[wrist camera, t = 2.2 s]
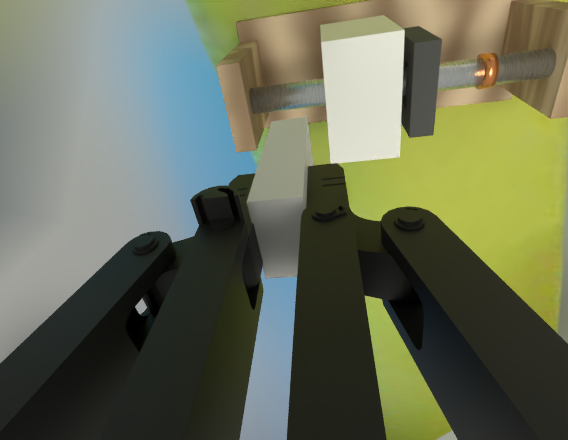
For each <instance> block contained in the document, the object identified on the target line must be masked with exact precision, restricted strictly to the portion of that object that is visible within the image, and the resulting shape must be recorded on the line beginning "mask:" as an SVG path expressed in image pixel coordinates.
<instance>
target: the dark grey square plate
mask: <svg viewBox="0 0 568 440" xmlns="http://www.w3.org/2000/svg"><path fill="white" fill-rule="evenodd" d="M403 29H404V30H405V36H404V61H403V67H408V78H407V95H405V96H402V112H401V123H402V125H403V127H404V129H405V130H406V132H407V134H408V136H409V138H411V137H420V136H430V135H433V133H434V122H435V111H436V100H437V90H438V79H439V68H440V57H441V47H442V39H441V38H439V37H437V36H436V35H434V34H432V33H430V32H429V31H427V30H425V29H423V28H422V27H420V26H415V27H408V28H403Z"/></svg>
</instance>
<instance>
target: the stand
mask: <svg viewBox="0 0 568 440" xmlns="http://www.w3.org/2000/svg"><path fill="white" fill-rule="evenodd" d="M381 15H384V16H386V17H387V18H389V19H390V20H391V21H393V22H394V23H396V24H397V25H399V26H400V27H401V28H408V27H415V26H420V27H422V28H423V29H425V30H427V31H429V32H430V33H432V34H434V35H436V36H437V37H439V38H441V39H442V47H441V57H440V63H441V62H448V61H456V60H463V59H471V58H477V56H478V55H479V54H485V53H492V52H494V53H496V55H500V54H508V53H515V52H523V51H530V50H538V49H545V48H552V49H553V50H554V51H555V53H556V65H555V69H554V71H553V73H552V74H551V76H550V77H548V78H544V79H535V80H527V81H519V82H511V83H503V84H495V85H494V86H493V87H492V88H486V89H476V88H475V87H470V88H462V89H454V90H446V91H438V92H437V100H436V108H441V107H449V106H458V105H467V104H475V103H484V102H492V101H501V100H510V99H512V95H514V96H516V97H518V98H519V99H521V100H522V101H524V102H525V103H527V104H528V105H530V106H531V107H533V108H535V109H536V110H538V111H539V112H541V113H542V114H544V115H545V116H547V117H549V118H550V119H553V118H562V117H568V3H566V2H558V1H551V0H367V1H361V2H355V3H349V4H343V5H337V6H331V7H324V8H318V9H312V10H306V11H300V12H294V13H287V14H281V15H275V16H269V17H263V18H257V19H251V20H244V21H238V22H236V26H237V31H238V36H239V41H240V43H239V44H238V45H237V46H236V47H235V48H234V49H233V50H232V51H231V52H230V53H229V54H228V55H227V56H226V57H225V58H224V59H223V60H222V61H221V62H220V63H219V64H217V65H216V68H217V72H218V76H219V80H220V85H221V89H222V92H223V97H224V101H225V105H226V109H227V114H228V118H229V122H230V126H231V131H232V135H233V139H234V143H235V147H236V152H245V151H255V150H257V148H258V145H259V142H260V139H261V136H262V133H263V130H264V128H269V127H270V125H271V122H272V121H278V120H286V119H293V118H301V117H307V118H308V123H312V122H320V121H327V110H326V105H324V106H315V107H307V108H299V109H291V110H283V111H275V112H266V113H258V114H253V112H252V109H251V105H250V98H249V90H250V88H254V87H261V86H269V85H276V84H284V83H291V82H299V81H306V80H314V79H321V78H324V73H323V61H322V48H321V31H320V25H323V24H329V23H336V22H342V21H348V20H355V19H361V18H368V17H374V16H381Z"/></svg>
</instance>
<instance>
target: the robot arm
mask: <svg viewBox="0 0 568 440" xmlns="http://www.w3.org/2000/svg"><path fill="white" fill-rule="evenodd" d="M190 201H191V203H192V206H193V209H194V212H195V215H196V218H197V221H198V224H199V227H198V229H197V231H196V234H195V236H193V237H191V238H188V239H184V240H181V241H177V242H174V243H172V241H171V238H170V236H169V235H168V234H167V233H164V232H160V231H156V232H147V233H144V234H141V235H139V236H138V237H136V238H134V239H133V240H131V241H129V242H128V243H127V244H126V245H125V246H123V247H122V248H121V249H120V250H119V251H118V252H117V253H116V254H115V255H114V256H113V257H112V258H111V259H110V260H109V261H108V262H107V263H106V264H105V265H103V267H101V268H100V269H99V270H98V271H97V272H96V273H95V274H94V275H93V276H92V277H91V278H90V279H89V280H88V281H87V282H86V283H85V284H83V285H82V286H81V287H80V288H79V289H78V290H77V291H76V292H75V293H74V294H73V295H72V296H71V297H70V298H69V299H68V300H67V301H66V302H65V303H64V304H62V306H60V307H59V308H58V309H57V310H56V311H55V312H54V313H53V314H52V315H51V316H50V317H49V318H48V319H47V320H46V321H45V322H44V323H43V324H42V325H40V326H39V327H38V328H37V329H36V330H35V331H34V332H33V333H32V334H31V335H30V336H29V337H28V338H27V339H26V340H25V341H24V342H23V343H21V344H20V346H18V347H17V348H16V349H15V350H14V351H13V352H12V353H11V354H10V355H9V356H8V357H7V358H6V359H5V360H4V361H3V362H1V363H0V440H239V438H240V431H241V426H242V419H243V414H244V407H245V400H246V395H247V388H248V383H249V377H250V370H251V364H252V358H253V352H254V346H255V340H256V333H257V327H258V321H259V315H260V309H261V303H262V297H263V284H262V281H261V277H260V276H261V271H262V266H263V270H264V274H265V278H266V279H268V278H281V277H296V276H297V289H296V304H295V321H294V336H293V352H292V367H291V383H290V399H289V414H288V430H287V440H386V433H385V427H384V420H383V414H382V407H381V401H380V394H379V388H378V381H377V375H376V368H375V362H374V355H373V348H372V342H371V335H370V329H369V322H368V316H367V309H366V303H365V296H370V297H375V298H380V299H382V301H383V305H384V307H385V309H386V310H387V312H388V314H389V316H390V318H391V320H392V321H393V323H394V325H395V327H396V329H397V330H398V332H399V334H400V336H401V338H402V339H403V341H404V343H405V345H406V347H407V348H408V350H409V352H410V354H411V356H412V358H413V359H414V361H415V363H416V365H417V367H418V368H419V370H420V372H421V374H422V376H423V377H424V379H425V381H426V383H427V385H428V387H429V388H430V390H431V392H432V394H433V396H434V397H435V399H436V401H437V403H438V405H439V406H440V408H441V410H442V412H443V414H444V415H445V417H446V419H447V421H448V423H449V425H450V426H451V428H452V430H453V432H454V434H455V435H456V437H457V439H458V440H568V344H567V343H566V342H565V341H564V340H563V339H562V338H561V337H560V336H559V335H558V334H557V333H556V332H555V331H554V330H553V329H552V328H551V327H550V326H549V325H548V324H547V323H546V322H545V321H544V320H543V319H542V318H541V317H540V316H539V315H538V314H537V313H536V312H535V311H534V310H533V309H532V308H530V307H529V306H528V305H527V304H526V303H525V302H524V301H523V300H522V299H521V298H520V297H519V296H518V295H517V294H516V293H515V292H514V291H513V290H512V289H511V288H510V287H509V286H508V285H507V284H506V283H505V282H504V281H503V280H502V279H501V278H500V277H499V276H498V275H497V274H496V273H495V272H494V271H493V270H491V269H490V268H489V267H488V266H487V265H486V264H485V263H484V262H483V261H482V260H481V259H480V258H479V257H478V256H477V255H476V254H475V253H474V252H473V251H472V250H471V249H470V248H469V247H468V246H467V245H466V244H465V243H464V242H463V241H462V240H461V239H460V238H459V237H458V236H457V235H456V234H455V233H454V232H452V231H451V230H450V229H449V228H448V227H447V226H446V225H445V224H444V223H443V222H442V221H441V220H440V219H439V218H438V217H437V216H436V215H435V214H433V213H432V212H430V211H428V210H425V209H422V208H418V207H400V208H396V209H393V210H390V211H388V212H387V213H386V214H384V215H383V217H382V220H381V221H372V220H367V219H363V218H360V217H358V216H357V215H355V214H354V213H353V212H352V211H351V210H350V207H349V202H348V195H347V189H346V182H345V176H344V169H343V168H342V167H340V166H339V165H338V164H337V163H333V164H324V165H316V166H313V158H312V150H311V142H310V134H309V126H308V118H307V117H301V118H293V119H286V120H278V121H272V122H271V125H270V128H269V131H268V135H267V138H266V141H265V144H264V148H263V151H262V154H261V157H260V160H259V164H258V167H257V170H256V173H255V174H246V175H239V176H237V177H236V178H235V179H233V180H232V181H231V182H230V183H229V186H216V187H211V188H208V189H206V190H203V191H201V192H199V193H198V194H196V195H195V196H194V197H193V198H192V199H191V200H190ZM364 295H365V296H364ZM142 298H143V300H144V302H145V304H146V306H147V309H146V310H145V311H144V312H143V313H142V314H141V315H140V314H139V313H138V311H137V310H136V308H135V306H136V305H137V303H138V302H139V301H140V300H141V299H142Z"/></svg>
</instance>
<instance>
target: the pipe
mask: <svg viewBox="0 0 568 440" xmlns="http://www.w3.org/2000/svg"><path fill="white" fill-rule="evenodd" d="M555 65H556V53H555V51H554V50H553V49H552V48H545V49H538V50H530V51H523V52H515V53H508V54H500V55H496V53H494V52H492V53H485V54H479V55H478V56H477V58H471V59H463V60H456V61H448V62H441V63H440V68H439V79H438V90H437V92H438V91H446V90H454V89H462V88H470V87H475V88H476V89H486V88H492V87H493V86H494V85H495V84H503V83H511V82H519V81H527V80H535V79H544V78H548V77H550V76H551V74H552V73H553V71H554V69H555ZM407 78H408V67H403V87H402V96H405V95H407ZM249 98H250V105H251V109H252V112H253V114H258V113H266V112H275V111H283V110H291V109H299V108H307V107H315V106H324V105H326V98H325V86H324V78H321V79H314V80H306V81H299V82H291V83H284V84H276V85H269V86H261V87H254V88H250V90H249Z"/></svg>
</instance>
